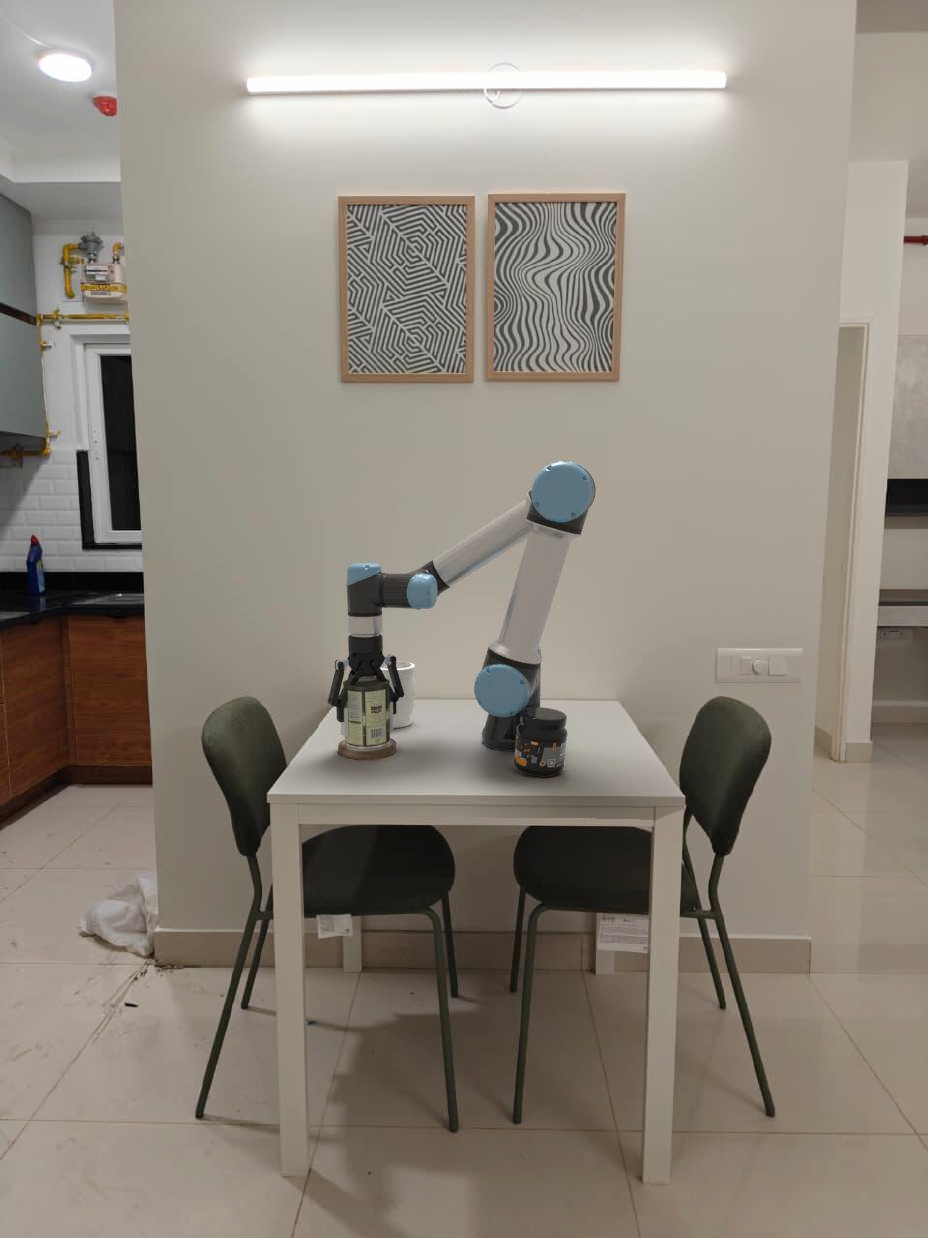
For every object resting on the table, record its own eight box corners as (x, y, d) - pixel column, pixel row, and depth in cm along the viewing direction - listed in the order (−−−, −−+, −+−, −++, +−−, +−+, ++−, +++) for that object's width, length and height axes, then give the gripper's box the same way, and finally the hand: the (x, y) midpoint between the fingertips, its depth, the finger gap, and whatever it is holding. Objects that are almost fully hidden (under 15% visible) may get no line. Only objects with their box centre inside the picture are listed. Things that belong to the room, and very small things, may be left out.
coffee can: (363, 733, 190) (362, 674, 188) (399, 740, 184) (398, 679, 182) (334, 745, 181) (333, 683, 179) (371, 752, 176) (370, 688, 174)
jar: (414, 730, 199) (413, 669, 197) (371, 729, 199) (370, 669, 197) (417, 718, 210) (416, 660, 207) (377, 718, 210) (376, 660, 208)
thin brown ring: (408, 751, 182) (407, 744, 182) (358, 763, 174) (357, 756, 174) (376, 738, 192) (376, 731, 192) (327, 749, 184) (327, 741, 184)
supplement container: (507, 759, 174) (512, 705, 172) (555, 760, 175) (561, 706, 173) (519, 778, 163) (524, 720, 161) (569, 778, 165) (576, 721, 163)
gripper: (404, 627, 188) (406, 721, 191) (310, 635, 177) (313, 735, 180) (419, 632, 181) (420, 729, 185) (321, 641, 171) (324, 744, 174)
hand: (367, 732), depth 183 cm, fingers closed on coffee can, 10 cm apart
